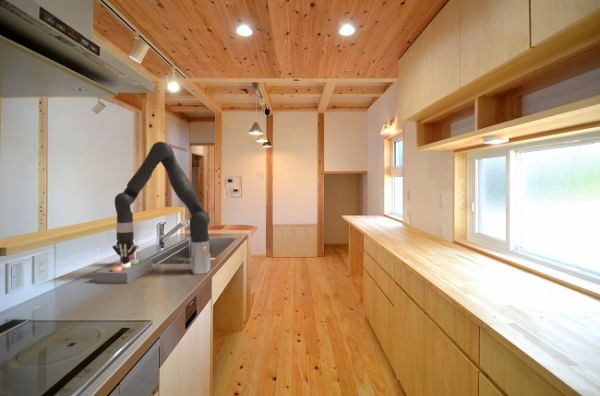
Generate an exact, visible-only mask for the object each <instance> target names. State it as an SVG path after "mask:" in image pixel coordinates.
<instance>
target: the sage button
mask: <svg viewBox="0 0 600 396" xmlns="http://www.w3.org/2000/svg"><path fill="white" fill-rule="evenodd" d="M129 262H131V264H137V263H139V258H136V259H131V260H129Z"/></svg>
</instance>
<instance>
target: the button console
mask: <svg viewBox="0 0 600 396" xmlns="http://www.w3.org/2000/svg"><path fill="white" fill-rule="evenodd" d="M121 263H123V262H120V261H119V262H117V263H115V264H112V265H110V266H107V267H105V268H102V269H101V270H98V271H96V272H94V273H95V274H94V275H95V283H101V284H103V283H105V284H129V283H130V282H133V281H134V280H136V279H139V278H140V277H141V276H143V275H145V274H147V273H149V272H151V271H152V270H153V269H154V267H153V260H141V259H140V260H139V263H137V264H131V266H130V267H128V268H122V271H119V272H112V267H115V266H121Z"/></svg>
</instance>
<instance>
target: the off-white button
mask: <svg viewBox="0 0 600 396" xmlns="http://www.w3.org/2000/svg"><path fill="white" fill-rule="evenodd" d="M121 266H122V268H128V267H130V266H131V262H128V263H127V264H123V263H121Z"/></svg>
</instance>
